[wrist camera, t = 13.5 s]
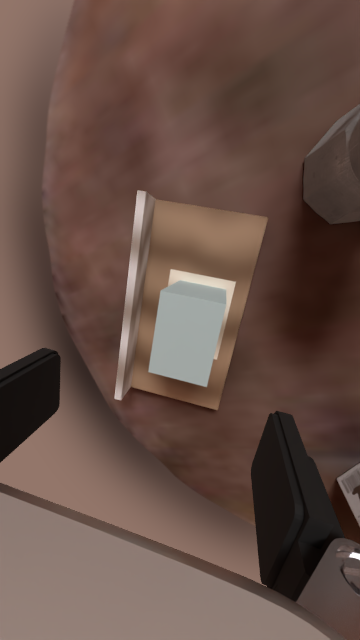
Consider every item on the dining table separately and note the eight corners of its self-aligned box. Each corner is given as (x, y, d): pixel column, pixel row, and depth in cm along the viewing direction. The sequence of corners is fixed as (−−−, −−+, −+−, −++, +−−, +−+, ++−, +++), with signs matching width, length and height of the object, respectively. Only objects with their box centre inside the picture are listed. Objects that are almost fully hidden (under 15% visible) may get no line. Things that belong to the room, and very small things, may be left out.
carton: (226, 289, 25) (226, 304, 17) (212, 349, 27) (206, 387, 19) (178, 279, 26) (158, 290, 18) (168, 339, 28) (146, 371, 20)
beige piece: (151, 202, 26) (135, 189, 21) (264, 220, 24) (274, 211, 20) (129, 377, 32) (112, 398, 28) (217, 400, 31) (216, 427, 26)
